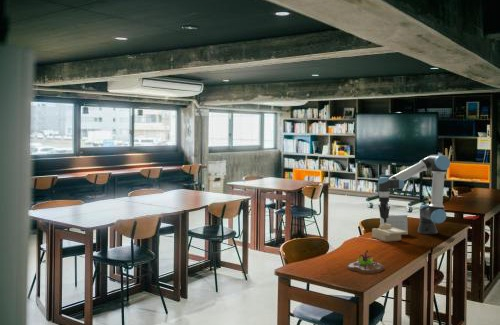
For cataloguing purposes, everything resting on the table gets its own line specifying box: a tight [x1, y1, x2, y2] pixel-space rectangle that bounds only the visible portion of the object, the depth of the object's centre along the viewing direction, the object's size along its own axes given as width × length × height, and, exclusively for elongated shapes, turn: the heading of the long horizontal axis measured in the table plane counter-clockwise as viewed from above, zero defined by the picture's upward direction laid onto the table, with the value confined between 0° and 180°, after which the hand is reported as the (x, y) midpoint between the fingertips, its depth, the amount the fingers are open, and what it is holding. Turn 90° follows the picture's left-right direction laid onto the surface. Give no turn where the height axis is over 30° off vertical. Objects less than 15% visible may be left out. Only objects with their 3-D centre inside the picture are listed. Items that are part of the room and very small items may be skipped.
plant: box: [347, 249, 385, 275], centre depth 275 cm, size 20×20×11 cm
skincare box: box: [379, 214, 409, 236], centre depth 373 cm, size 21×6×16 cm, turn 84°
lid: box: [376, 224, 407, 236], centre depth 350 cm, size 16×18×5 cm
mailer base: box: [371, 227, 402, 243], centre depth 356 cm, size 14×18×7 cm
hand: (384, 226), depth 358 cm, fingers closed
